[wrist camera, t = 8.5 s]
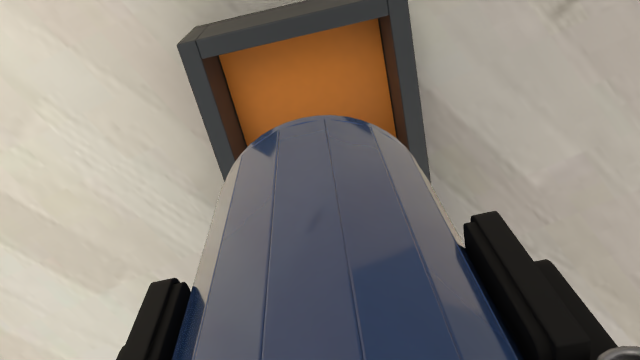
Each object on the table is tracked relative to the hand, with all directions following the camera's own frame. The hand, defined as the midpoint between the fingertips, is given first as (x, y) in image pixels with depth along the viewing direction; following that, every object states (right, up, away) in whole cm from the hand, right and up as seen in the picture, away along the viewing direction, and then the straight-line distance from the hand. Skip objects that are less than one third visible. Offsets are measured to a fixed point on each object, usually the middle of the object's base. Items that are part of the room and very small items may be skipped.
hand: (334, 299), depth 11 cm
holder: (0, +3, +16) cm, 16 cm away
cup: (0, +2, +4) cm, 4 cm away
